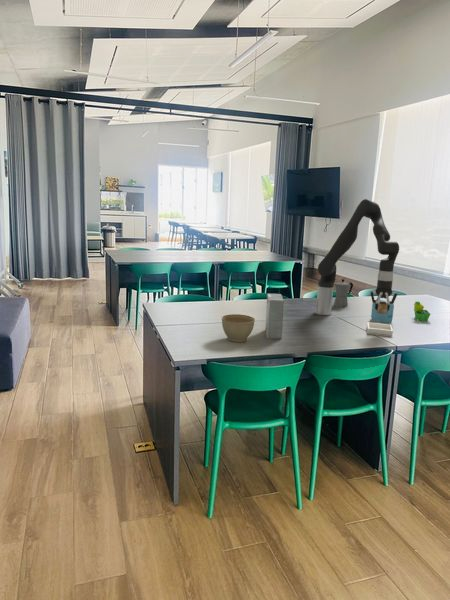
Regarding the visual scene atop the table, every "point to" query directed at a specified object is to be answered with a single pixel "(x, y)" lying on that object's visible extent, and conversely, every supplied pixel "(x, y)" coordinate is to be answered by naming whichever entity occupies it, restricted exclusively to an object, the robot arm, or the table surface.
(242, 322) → the planter bowl
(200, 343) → the table surface
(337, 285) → the coffeepot
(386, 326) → the large crate
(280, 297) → the hard drive box
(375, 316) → the blue rounded block
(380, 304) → the small crate
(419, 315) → the fruit basket
